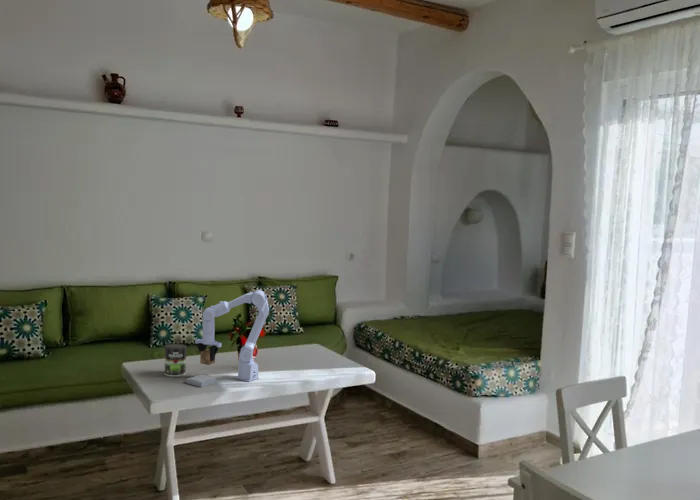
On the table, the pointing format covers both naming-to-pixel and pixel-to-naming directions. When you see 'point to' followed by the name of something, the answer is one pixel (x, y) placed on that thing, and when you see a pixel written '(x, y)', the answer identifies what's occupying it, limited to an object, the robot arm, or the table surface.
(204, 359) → the walnut block
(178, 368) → the coffee can
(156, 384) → the table surface
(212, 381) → the pedestal
